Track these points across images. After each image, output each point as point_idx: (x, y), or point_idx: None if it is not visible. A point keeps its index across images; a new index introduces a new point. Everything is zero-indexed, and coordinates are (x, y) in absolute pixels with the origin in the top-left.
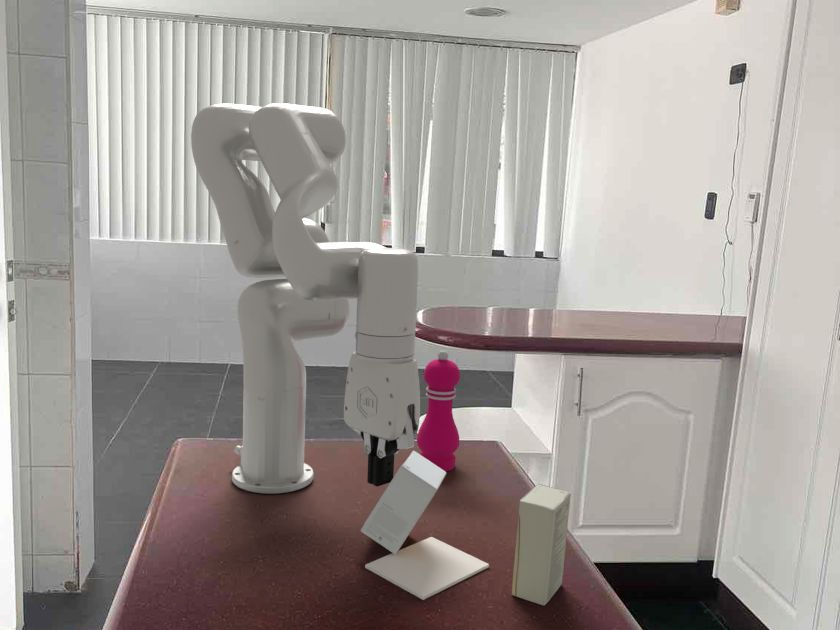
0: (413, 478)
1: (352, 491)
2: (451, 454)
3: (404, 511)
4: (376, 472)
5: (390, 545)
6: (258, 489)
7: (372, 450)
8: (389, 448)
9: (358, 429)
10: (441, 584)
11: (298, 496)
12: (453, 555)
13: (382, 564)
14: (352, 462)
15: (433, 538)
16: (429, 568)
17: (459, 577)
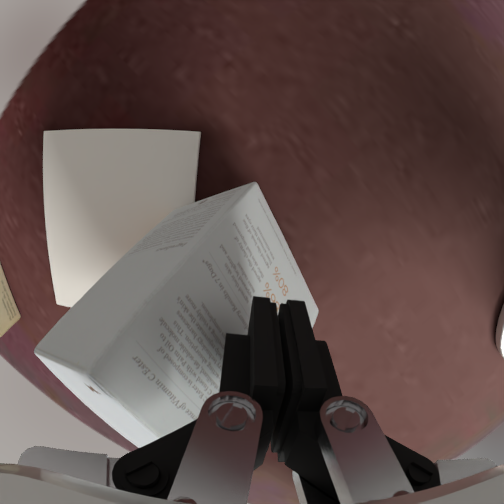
0: (66, 349)
1: (429, 365)
2: None
3: (126, 266)
4: (252, 331)
5: (180, 209)
6: None
7: (316, 420)
8: (167, 453)
9: (441, 492)
10: (50, 189)
11: (496, 287)
12: None
13: (171, 160)
14: (462, 416)
15: None
16: (98, 221)
17: (48, 232)
